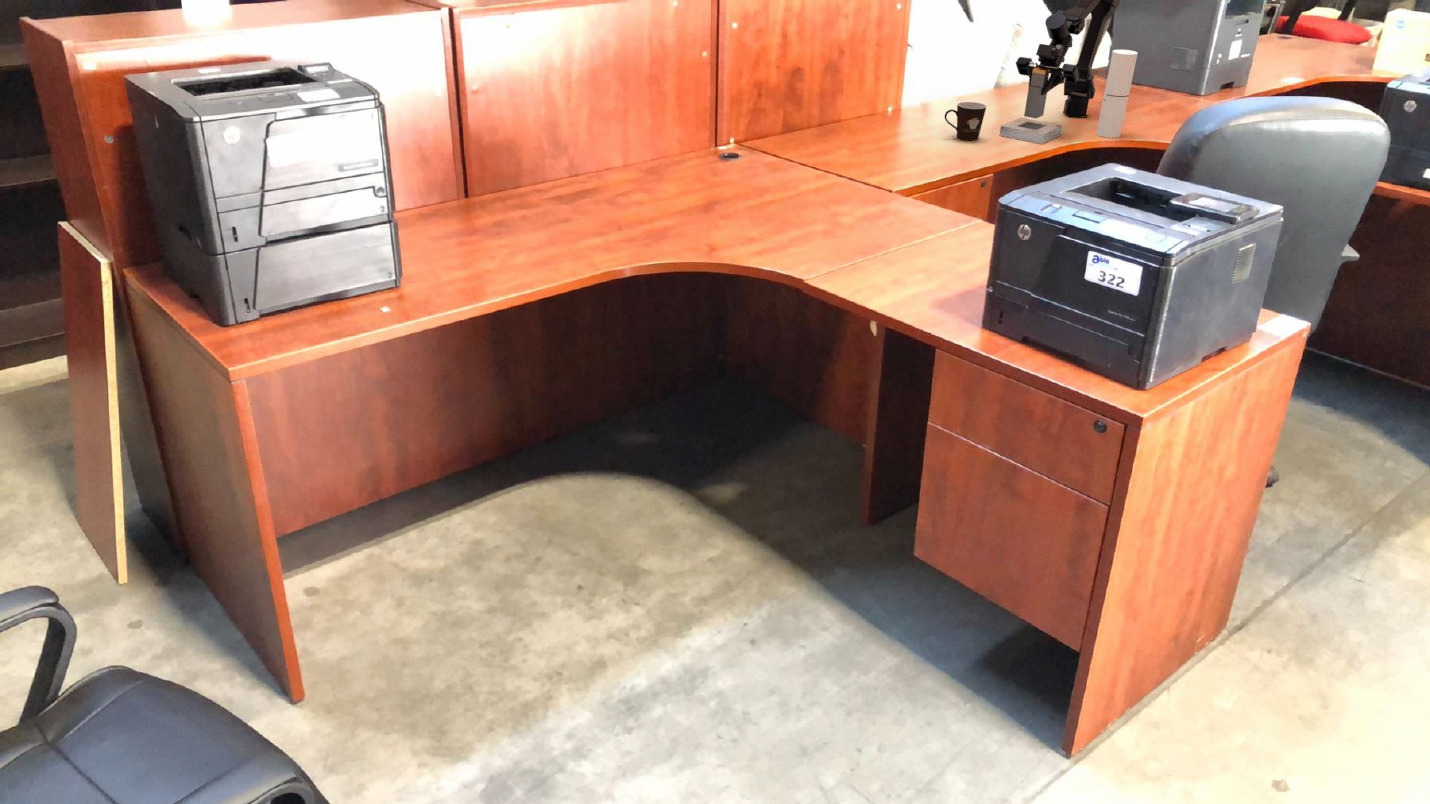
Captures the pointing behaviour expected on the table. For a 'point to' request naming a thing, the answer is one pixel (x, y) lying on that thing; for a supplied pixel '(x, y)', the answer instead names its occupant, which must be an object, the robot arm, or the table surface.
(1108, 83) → the cylindrical container
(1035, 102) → the grey orange-tipped tall block
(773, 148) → the table surface
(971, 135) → the coffee mug
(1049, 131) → the silver square socket base
